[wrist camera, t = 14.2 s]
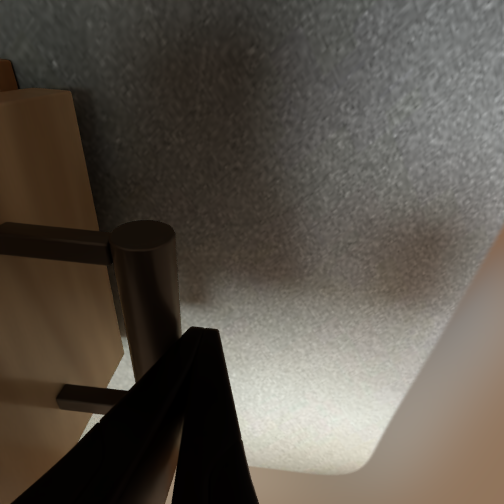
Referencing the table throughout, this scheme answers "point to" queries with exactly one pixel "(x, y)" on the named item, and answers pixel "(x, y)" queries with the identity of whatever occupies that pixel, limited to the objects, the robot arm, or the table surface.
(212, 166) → the table surface
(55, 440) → the drawer
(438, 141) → the table surface
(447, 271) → the table surface
